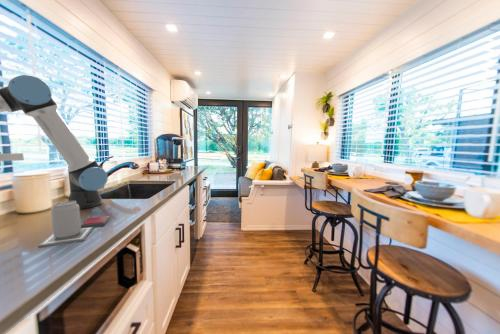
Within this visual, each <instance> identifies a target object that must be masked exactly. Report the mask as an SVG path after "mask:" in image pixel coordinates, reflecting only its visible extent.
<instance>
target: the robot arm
mask: <svg viewBox="0 0 500 334" xmlns="http://www.w3.org/2000/svg"><path fill="white" fill-rule="evenodd" d="M51 89H52V88H51V87H50V86H49V84H48V83H47V82H46V81H44V80H43V79H41V78H39V77H38V76H35V75H30V74H20V75H17V76H14V77H12V78H11V79H10V80H9V82H8V84H7V85H6V86H4V87H1V88H0V113H4V112H8V113H15V112H18V111H23V113H24V114H25V116H29V117H32V118H33V119H34V121H35V122H36V123H37V124H38V126H39V127H40V129H41V130H42V131H43V133H44V134H45V135H46V137H47V138H48V139H49V140H50V142H51V144H52V145H53V146H54V148H55V149H56V150H57V152H58V153H59V155H60V156H61V157H62V158H63V160H64V161H65V163H66V164H67V172H68V181H69V192H70V193H69V197H68V199H67V201H76V204H78V205H79V210H81V209H88V208H94V207H97V206H100V205H102V204H103V198H102V197H101V195H100V193H99V192H100V191H98V190H100V189H102V188H104V187H105V185H107V182H108V179H109V178H108V177H109V176H108V174H107V171H106V170H105V169H103V168H102V167H100V165H99V163H98V162H97V161H96V159H95V158H92V157H89V155H88V153H87V151H85V150H84V148H83V146H82V145H81V143H80V142H79V141H78V139H77V138H76V136H75V134H74V133H73V131H72V130H71V129H70V127H69V126H68V125H67V123H66V122H65V120H64V119H63V117H62V116H61V114H60V112H59V111H58V107H59V104H58V103H57V101H56V100H55V98H54V96H53V93H52V90H51ZM24 160H25V158H24V153H23V152H22V153H20V152H19V153H18V152H17V153H13V152H12V153H1V152H0V164H2V162H12V161H18V162H19V161H24Z"/></svg>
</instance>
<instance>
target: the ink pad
mask: <svg viewBox="0 0 500 334" xmlns="http://www.w3.org/2000/svg"><path fill="white" fill-rule="evenodd" d="M109 220H110V215H107V216H106V215H105V216H96V217H95V216H94V217H89V218H86V220H84V221H83V222H82V223H81V228H88V227H94V228H96V227H104V226H106V224H107V223H108V221H109Z"/></svg>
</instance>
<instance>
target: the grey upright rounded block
mask: <svg viewBox="0 0 500 334" xmlns="http://www.w3.org/2000/svg"><path fill="white" fill-rule="evenodd" d="M80 210H81V209H79V205H78V204H76V201H68V200H65V201H59V202H56V203H54V204H53V207H52V208H51V210H50V211H51V219H52V233H54V237H57V238H59V239H64V238H70V237H73V236H76V235H77V234H79V232H80V231H81V225H82V223H81V213H80Z"/></svg>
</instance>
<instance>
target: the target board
mask: <svg viewBox="0 0 500 334" xmlns="http://www.w3.org/2000/svg"><path fill="white" fill-rule="evenodd" d="M94 229H95V227H88V228H81V231H80V232H79V234H77V235H76V236H73V237H70V238H64V239H59V238H57V237H54V232H52V233H51V234H50V235H49V236H48V237H47V238H45V239H44V240H43V241H41V243H39V245H38V248H43V247H49V246H50V247H51V246H58V245H63V244H72V243H78V242H84V241H86V238H88V236H90V234H91V233H92V231H93V230H94Z"/></svg>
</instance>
